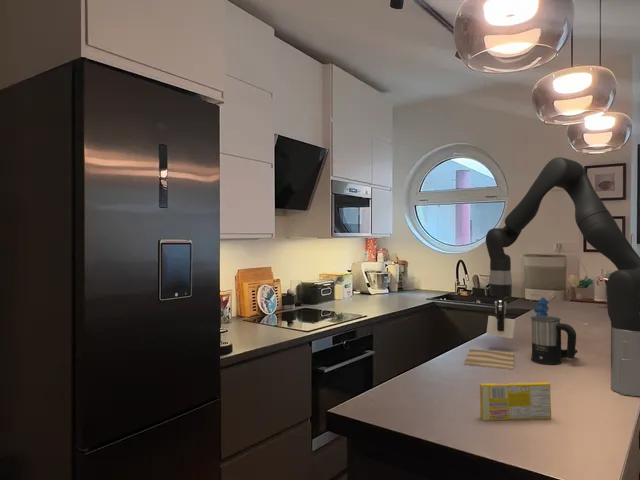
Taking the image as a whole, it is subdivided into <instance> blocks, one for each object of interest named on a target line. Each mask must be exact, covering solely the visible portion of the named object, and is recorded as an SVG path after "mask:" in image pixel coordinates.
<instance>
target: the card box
mask: <svg viewBox="0 0 640 480" xmlns="http://www.w3.org/2000/svg"><path fill="white" fill-rule="evenodd" d="M496 317H497V316H493V315H488V317H487V318H488V319H487V326H486V335H487V336H488V335H490V336H495V337H502V338H506V339H507V338H508V339H513V338H514V331H515V324H516V323H515V322H516V320H515V319H512V318H508V317H507V318H506V317H505V320H504V331H498V330H497V318H496ZM498 321H499V320H498Z"/></svg>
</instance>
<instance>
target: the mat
mask: <svg viewBox="0 0 640 480" xmlns="http://www.w3.org/2000/svg"><path fill="white" fill-rule="evenodd" d="M464 366H474V367H481V368H482V367H485V368H494V369H504V370H515V353H514V352H506V351H495V350H485V349H484V350H483V349H473V348H470V349H469V351H468V353H467V356H466V359H465V360H464Z"/></svg>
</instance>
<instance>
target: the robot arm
mask: <svg viewBox="0 0 640 480" xmlns="http://www.w3.org/2000/svg"><path fill="white" fill-rule="evenodd" d="M555 187H556V188H561V189H563V190H564V191H565V192H566V193H567V195H568V196H569V197H570V199H571V200H572V202H573V204H574V220H575V223H576V225H577V228H578V229H579V231H580V233H581V235H582V236H583V238H584V239H585V241H586V242H587V243H588V244H589V245H590V246H591V247H592V248H594V249H595V250H596V251H598V252H599V253H600V254H601V255H603V256H604V257H606V258H607V259H608V260H609V261H610V262H611V263H612V264H613V265H614V266H615V267H616V269H617V270H614V271H613V272H611V273H610V275H609V276H608V278H607V281H606V304H607V306H606V307H607V315H608V317H609V320H610V390H612V391H614V392H616V393H617V394H618V393H619V395H623V396H633V397H640V310H639V304H640V255H639V254H638V253H637V251H636V250H635V249H634V248H633V246H632V245H631V243H630V242H629V240H628V239H627V237H626V236H625V234H624V232H622V230H621V228H620V227H619V225H618V224H617V222H616V220H615V219H614V217H613V216H612V214H611V212H610V211H609V210H608V208H607V207H606V206H605V204H604V202H603V200H602V199H601V197H600V196H599V195H598V193H597V192H596V190H595V189H594V186H593V185H592V183H591V181H590V179H589V176H588V175H587V172H586V170H585V168H584V167H583V165H582V164H581V163H580V162H578V161H575V160H572V159H569V158H566V157H561V156H557V157H554V158H551V160H549V161H548V162H547V163H546V165H544V167H543V169H542V170H541V171H540V173H539V175H538V176H537V177H536V179H535V180H534V181H533V182H532V185H531V186H530V187H529V189H528V191H527V192H526V194H525V195H524V197H523V198H522V199H521V200H520V202H519V203H518V204H517V205H516V206H515V207H514V208H513V209H512V210H511V211H510V212H509V213H508V214H507V216H506V217H505V219H504V224H505V225H504V226H503V227H501V228H499V227H495V228H490V229H489V230H488V231H487V232H486V236H485V245H486V249H487V253H488V254H487V255H488V256H489V260H490V261H489V263H490V266H489V267H490V268H489V269H490V270H489V296H492V297H496V300H495V301H494V306H495V315H496V316H495V317H496V318H497V330H498V331H504V320H505V318H506V313H507V303H508V302H507V300H505V297H506V298H508V297H511V296H512V291H513V290H512V286H513V285H512V279H513V278H512V271H511V270H512V268H511V266H512V265H511V264H512V263H511V260H512V259H511V256H510V255H509V254H507V253H505V250H504V249H505V248H508V247H511V246H512V245H513V244H514V243H515V242H516V241H517V240H518V238H519V237H520V235H521V233H522V230H523V229H525V228H526V227H527V225H529V224H530V223H531V221H533V220H534V219H535V217H536V216H537V214H538V212H539V209H540V207H541V202H542V201H543V198H544V197H545V196H546V195H547V194H548V193H549V192H550V191H552V189H553V188H555ZM498 320H499V321H498Z"/></svg>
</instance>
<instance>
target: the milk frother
mask: <svg viewBox="0 0 640 480" xmlns="http://www.w3.org/2000/svg"><path fill="white" fill-rule="evenodd" d="M530 319H531V358H530V360H531V361H532V362H534V363H536V364H541V365H551V366H552V365H559V364H561V363H562V361H561V359H564V358H568V360H569V359H570V360H572V359H573V358H575V355H576V354H577V353H578V350H577V349H576V345H577V333H576V330H575V329H574V327H572V325H570V324H567V323H561V318H559V317H557V316H556V317H555V316H549V315H548V316H536V315H533V316H531V317H530ZM562 331H564V332H566V335H567V343H566V344H567V345H566V348H565V349H562Z"/></svg>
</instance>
